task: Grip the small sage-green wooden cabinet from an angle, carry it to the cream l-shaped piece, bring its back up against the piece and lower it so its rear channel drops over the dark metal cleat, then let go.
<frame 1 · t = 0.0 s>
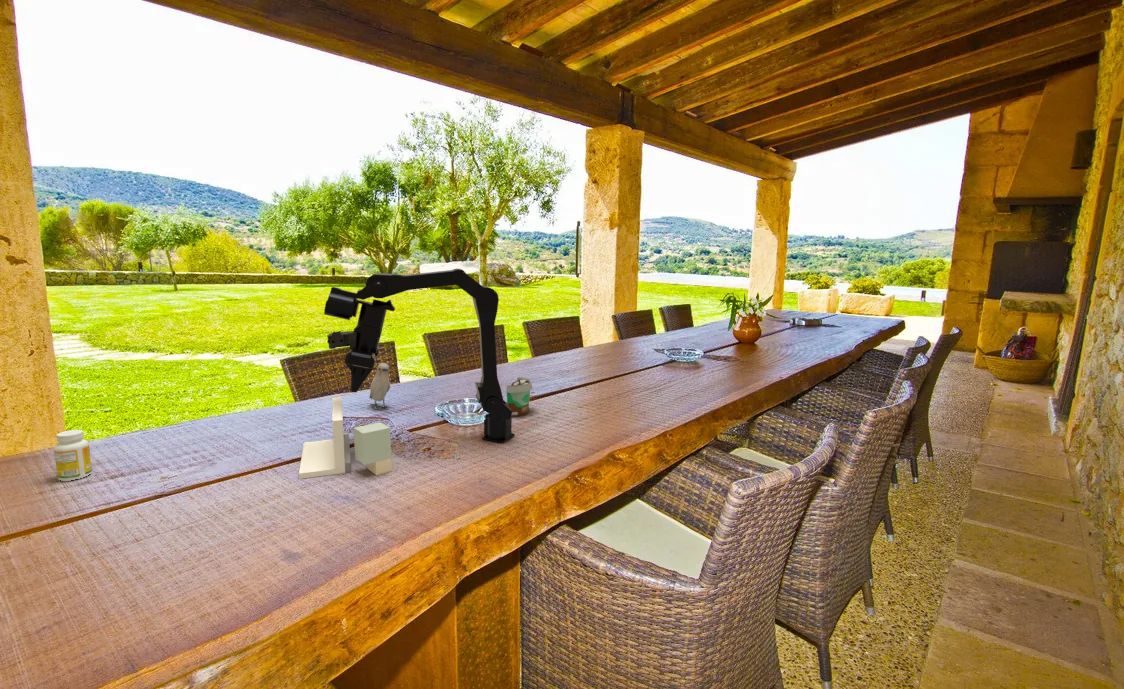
hand: (355, 387, 125), 15 cm above the table, tool pointing down, fingers open, 9 cm apart
supplement bottle: (75, 477, 109), on the table
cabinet: (376, 470, 115), on the table
food container: (521, 414, 159), on the table
cream l-shaped piece: (339, 457, 122), on the table
bird: (380, 409, 161), on the table
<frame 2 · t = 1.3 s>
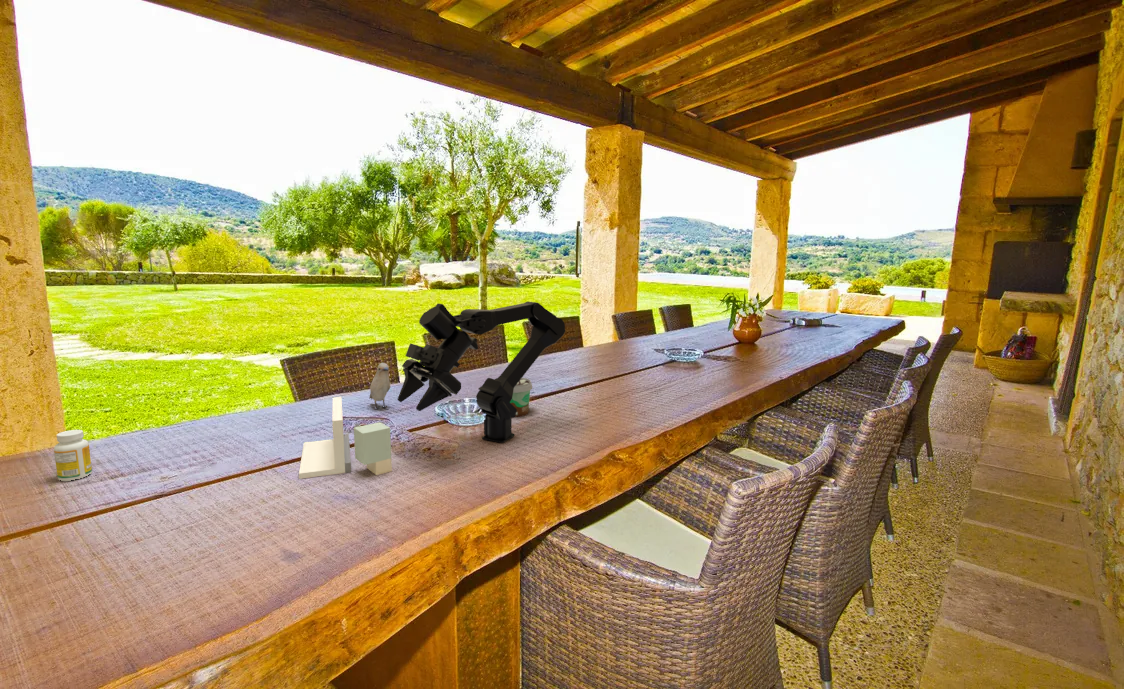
hand: (407, 405, 118), 13 cm above the table, tool tilted 45°, fingers open, 9 cm apart
nothing on the table moved.
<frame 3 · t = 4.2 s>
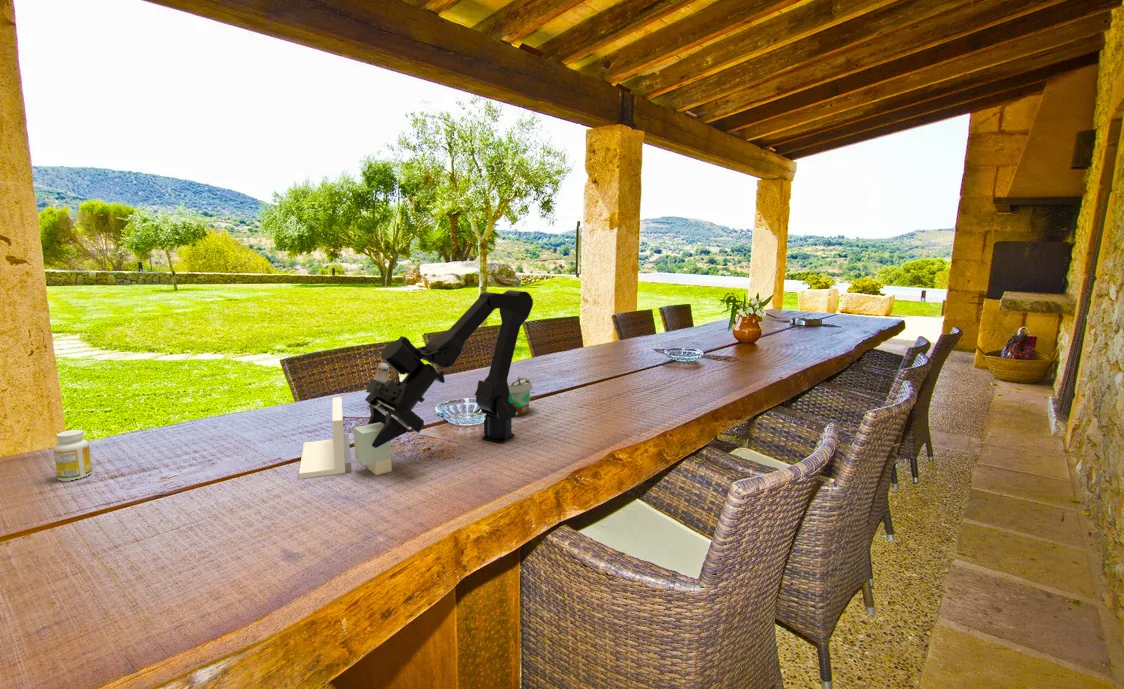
hand: (368, 443, 113), 7 cm above the table, tool tilted 45°, fingers closed on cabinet, 5 cm apart
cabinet: (375, 470, 115), on the table, touching gripper
everything else where it was.
when the fingers open (7 cm above the table, at t = 10.2 s): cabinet stays where it is, on the table.
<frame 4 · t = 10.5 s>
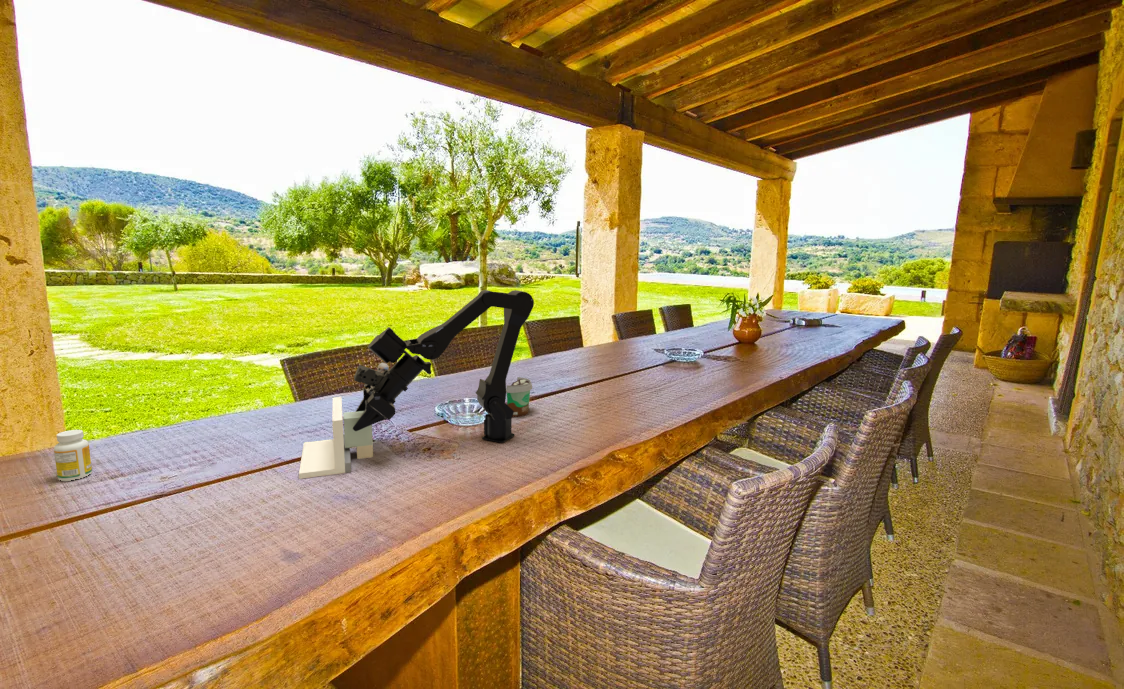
hand: (353, 424, 122), 8 cm above the table, tool tilted 45°, fingers open, 8 cm apart
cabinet: (361, 454, 124), on the table
everything else where it was.
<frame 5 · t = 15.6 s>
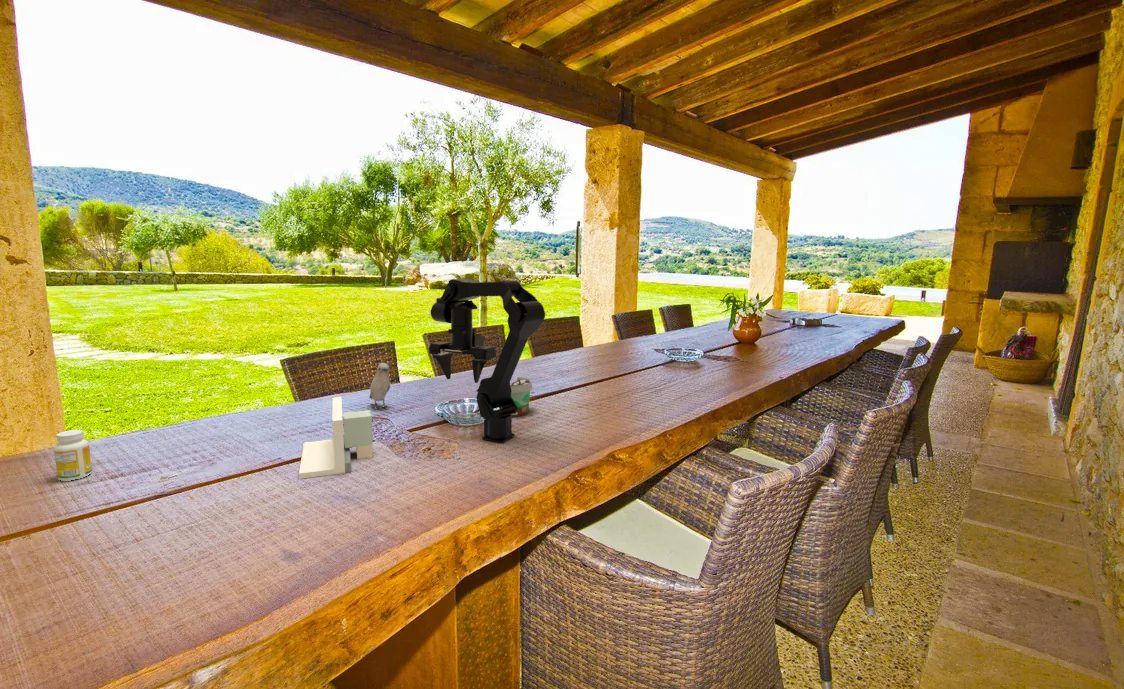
hand: (462, 380, 144), 13 cm above the table, tool pointing down, fingers open, 9 cm apart
nothing on the table moved.
at the end: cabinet 0.1 cm from the target spot, on the table; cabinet tilted 0°; the gripper is holding nothing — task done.
